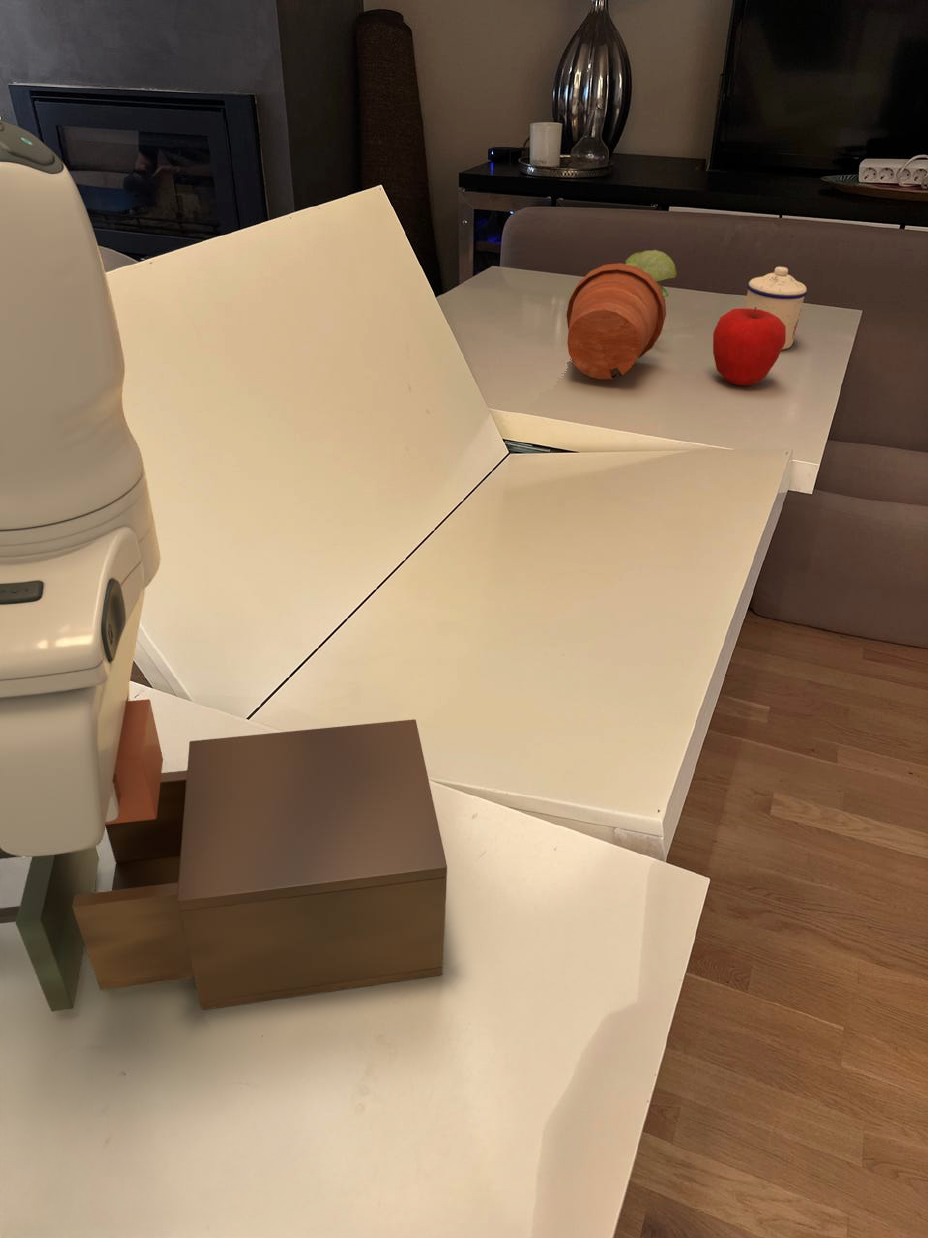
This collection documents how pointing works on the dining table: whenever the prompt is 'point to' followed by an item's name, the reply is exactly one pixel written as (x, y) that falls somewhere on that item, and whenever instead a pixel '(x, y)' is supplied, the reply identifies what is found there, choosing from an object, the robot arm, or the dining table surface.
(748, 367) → the apple
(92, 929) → the drawer
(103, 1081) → the dining table surface
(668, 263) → the potted plant
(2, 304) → the robot arm
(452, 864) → the dining table surface
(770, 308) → the teacup with lid
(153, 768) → the block
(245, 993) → the cabinet
